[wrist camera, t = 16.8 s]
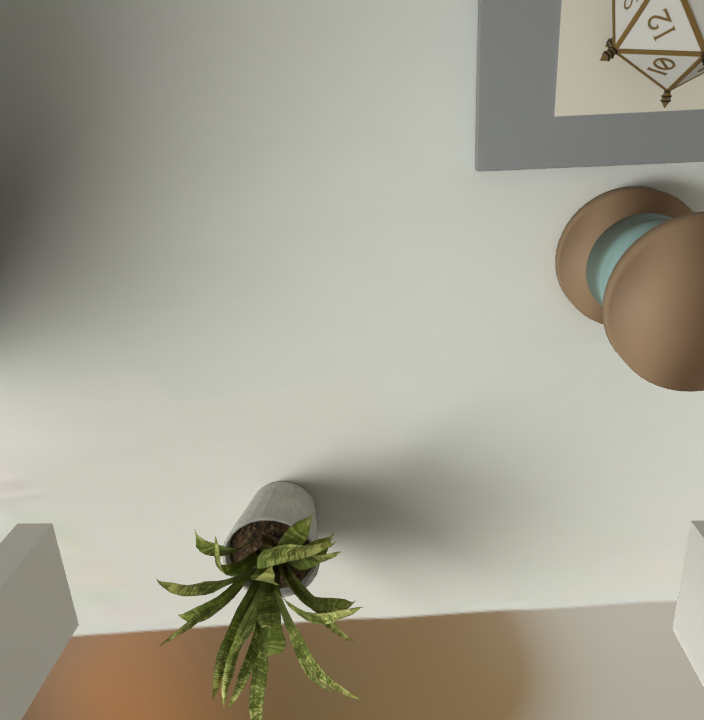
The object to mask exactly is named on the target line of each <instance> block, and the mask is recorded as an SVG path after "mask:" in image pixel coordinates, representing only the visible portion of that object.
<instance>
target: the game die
mask: <svg viewBox="0 0 704 720" xmlns="http://www.w3.org/2000/svg"><path fill="white" fill-rule="evenodd" d="M612 34H613V37H612V38H611V39H610V38H609V39H608V41H607V44H606V45H605V47H607V48H609V49H608V50H607V51H604V52H603V54H602V57H601V59H600V60H599V61H608V62H609V61H610V59H613V58H614V56H615V54H616V55H618V56H619V57H620V58H622V59H623V60H624V61H626V62H627V63H628V64H630V65H631V66H632V67H634V68H635V69H636V70H638V71H639V72H640V73H642V74H643V75H644V76H646V77H647V78H649V79H650V80H651V81H653V82H654V83H655V84H657V85H658V86H659V87H661V88H662V89H663V90H664V93H663V95H661V97H662V99H661V100H660V101H661V102H662V104H663V107H664V108H665V107H666V106H667V105H668V104H669V102H671V100H670V98H671V97H672V95H671V90H673V89H675V88H677V87H679V86H681V85H683V84H685V83H687V82H688V81H690V80H692V79H694V78H696V77H698V76H700V75H702V74H704V0H612ZM611 48H612V49H611Z"/></svg>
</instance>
